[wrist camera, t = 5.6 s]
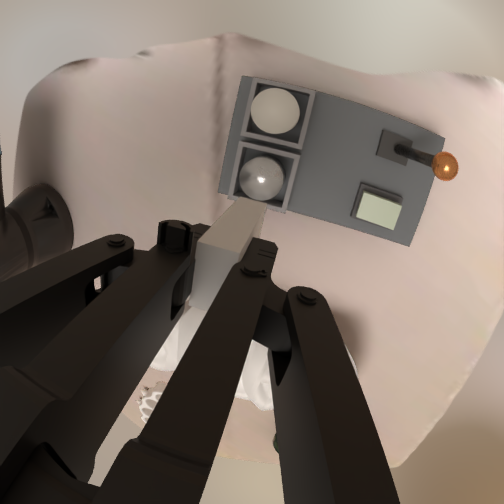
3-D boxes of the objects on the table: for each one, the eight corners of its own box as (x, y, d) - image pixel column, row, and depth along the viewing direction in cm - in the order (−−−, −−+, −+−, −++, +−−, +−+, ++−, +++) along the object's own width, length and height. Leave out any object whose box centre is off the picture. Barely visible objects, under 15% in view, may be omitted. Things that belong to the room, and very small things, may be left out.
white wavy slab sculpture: (377, 323, 41) (389, 373, 32) (331, 390, 48) (331, 437, 39) (155, 249, 43) (117, 283, 33) (147, 329, 50) (119, 368, 40)
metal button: (241, 188, 33) (235, 194, 30) (249, 150, 31) (244, 153, 28) (279, 198, 33) (277, 205, 30) (289, 160, 31) (287, 163, 28)
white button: (252, 128, 29) (246, 128, 26) (261, 87, 27) (256, 83, 24) (294, 137, 28) (293, 138, 26) (304, 97, 26) (303, 93, 24)
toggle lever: (384, 156, 28) (441, 180, 20) (390, 133, 27) (449, 151, 19) (401, 162, 29) (458, 188, 21) (407, 141, 27) (466, 160, 20)
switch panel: (224, 187, 37) (211, 197, 32) (247, 79, 31) (236, 71, 26) (402, 238, 35) (415, 255, 30) (435, 137, 29) (454, 139, 24)
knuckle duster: (186, 432, 64) (134, 405, 63) (211, 402, 56) (148, 370, 56) (182, 442, 61) (129, 414, 60) (206, 414, 53) (141, 381, 52)
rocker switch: (355, 214, 31) (356, 216, 30) (363, 190, 30) (364, 192, 29) (392, 227, 30) (393, 230, 29) (400, 203, 29) (402, 206, 28)
